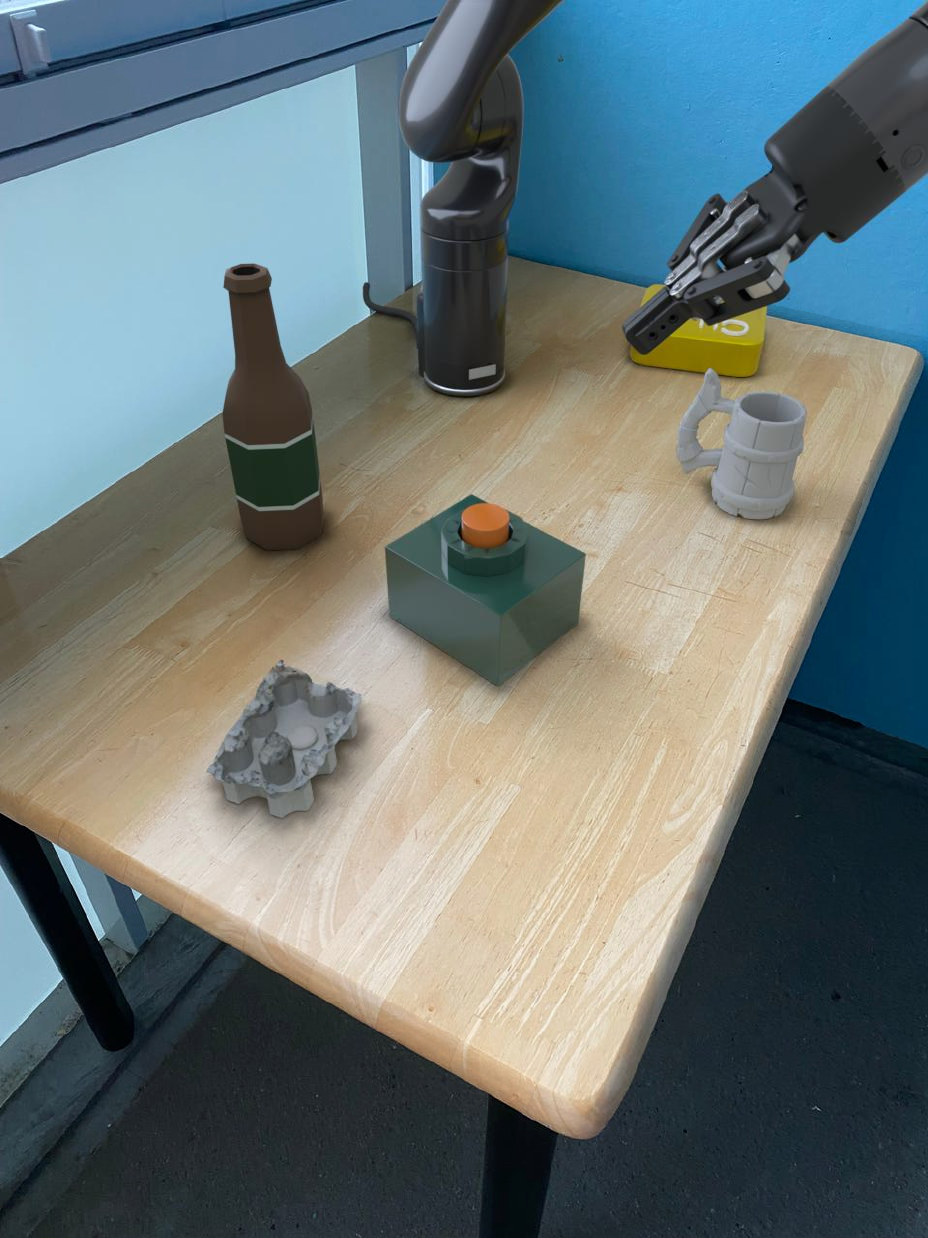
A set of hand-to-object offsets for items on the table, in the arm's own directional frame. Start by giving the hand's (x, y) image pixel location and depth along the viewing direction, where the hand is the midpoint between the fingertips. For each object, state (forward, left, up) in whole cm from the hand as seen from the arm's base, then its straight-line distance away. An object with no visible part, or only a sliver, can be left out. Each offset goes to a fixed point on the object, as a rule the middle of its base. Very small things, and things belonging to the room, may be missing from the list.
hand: (631, 341), depth 61 cm
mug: (-2, +23, -24) cm, 34 cm away
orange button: (-7, -7, -15) cm, 18 cm away
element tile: (-22, +49, -24) cm, 59 cm away
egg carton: (-7, -27, -24) cm, 37 cm away
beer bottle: (-29, -10, -24) cm, 39 cm away
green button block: (-7, -7, -24) cm, 26 cm away
